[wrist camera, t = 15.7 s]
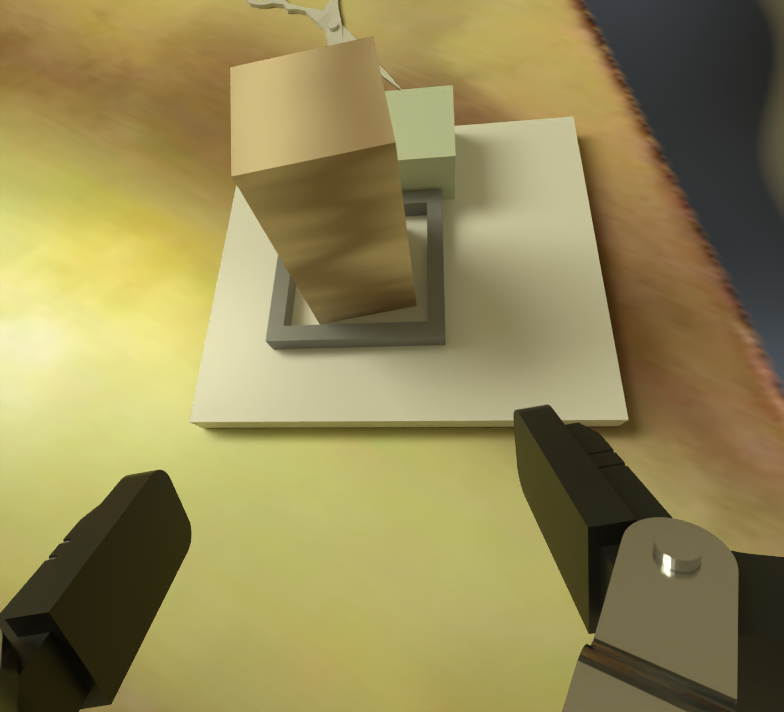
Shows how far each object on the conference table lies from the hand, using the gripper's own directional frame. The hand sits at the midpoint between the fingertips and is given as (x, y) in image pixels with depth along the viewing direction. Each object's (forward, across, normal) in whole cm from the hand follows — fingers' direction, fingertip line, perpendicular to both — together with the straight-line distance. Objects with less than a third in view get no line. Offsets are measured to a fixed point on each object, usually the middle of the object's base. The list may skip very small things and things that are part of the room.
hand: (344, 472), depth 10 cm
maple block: (+15, 0, -2) cm, 15 cm away
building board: (+16, -2, -1) cm, 16 cm away
